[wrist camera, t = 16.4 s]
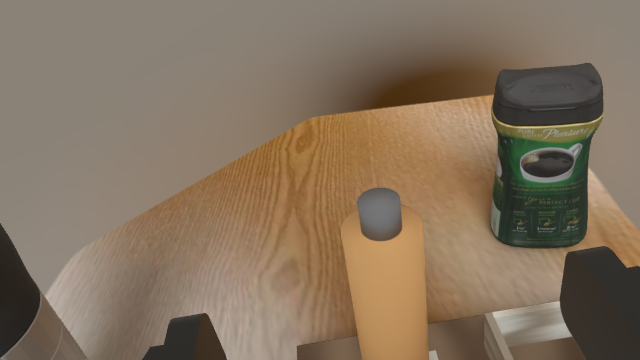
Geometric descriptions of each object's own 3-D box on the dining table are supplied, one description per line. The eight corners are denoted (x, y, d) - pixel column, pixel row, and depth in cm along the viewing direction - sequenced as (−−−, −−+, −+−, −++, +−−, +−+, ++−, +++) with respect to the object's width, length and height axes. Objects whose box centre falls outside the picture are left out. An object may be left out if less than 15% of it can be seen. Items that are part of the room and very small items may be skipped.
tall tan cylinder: (357, 394, 40) (321, 197, 29) (406, 364, 42) (389, 166, 31) (392, 444, 37) (365, 240, 26) (444, 410, 38) (440, 204, 27)
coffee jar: (576, 205, 57) (598, 48, 47) (591, 253, 51) (621, 85, 41) (486, 205, 60) (489, 57, 49) (490, 251, 53) (495, 92, 43)
